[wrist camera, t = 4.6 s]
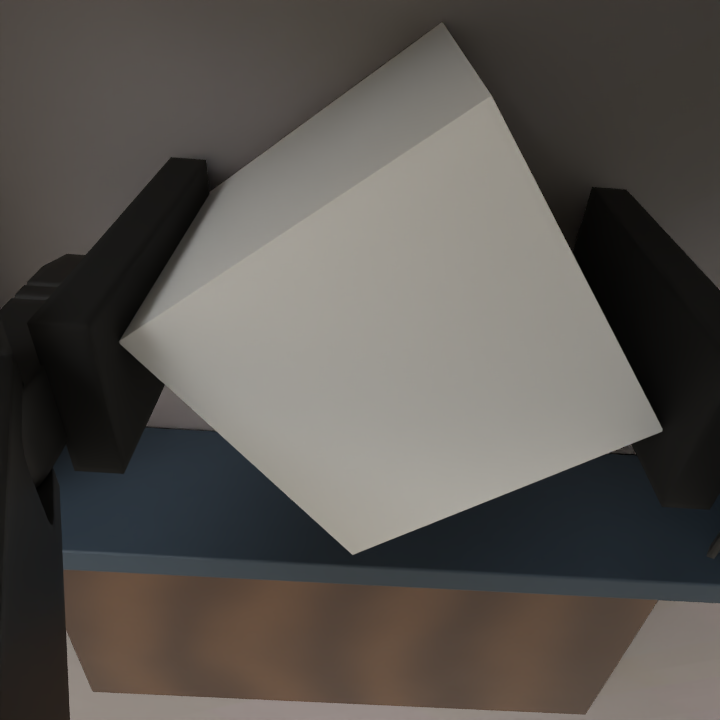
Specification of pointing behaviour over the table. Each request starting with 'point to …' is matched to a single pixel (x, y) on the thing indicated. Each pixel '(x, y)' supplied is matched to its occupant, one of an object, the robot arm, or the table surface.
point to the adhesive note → (391, 311)
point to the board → (346, 641)
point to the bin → (394, 557)
